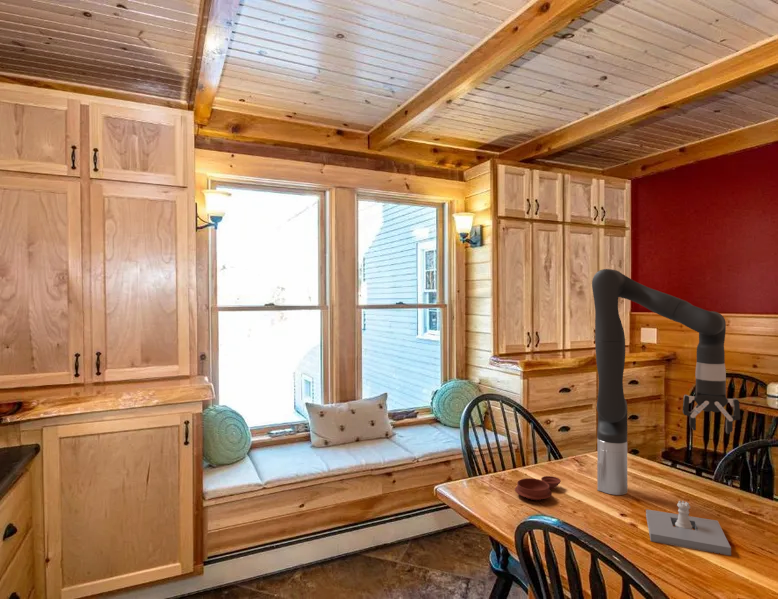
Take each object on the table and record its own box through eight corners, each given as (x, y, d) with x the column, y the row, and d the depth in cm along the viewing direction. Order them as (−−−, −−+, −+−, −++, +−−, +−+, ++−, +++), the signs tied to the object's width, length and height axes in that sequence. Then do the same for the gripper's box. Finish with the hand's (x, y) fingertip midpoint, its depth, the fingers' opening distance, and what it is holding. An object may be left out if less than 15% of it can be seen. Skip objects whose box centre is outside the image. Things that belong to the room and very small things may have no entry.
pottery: (507, 496, 158) (507, 483, 157) (540, 481, 171) (540, 468, 170) (539, 508, 149) (539, 494, 149) (571, 491, 162) (571, 478, 162)
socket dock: (650, 541, 128) (650, 533, 128) (646, 515, 143) (646, 509, 143) (731, 555, 121) (731, 547, 121) (717, 527, 135) (717, 520, 135)
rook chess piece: (670, 527, 136) (670, 499, 135) (685, 526, 136) (685, 498, 136) (682, 535, 131) (681, 506, 131) (697, 534, 132) (696, 505, 131)
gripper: (684, 378, 143) (684, 431, 143) (742, 381, 136) (742, 437, 136) (681, 374, 149) (681, 425, 149) (736, 377, 143) (736, 430, 143)
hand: (710, 431), depth 143 cm, fingers open, 8 cm apart
